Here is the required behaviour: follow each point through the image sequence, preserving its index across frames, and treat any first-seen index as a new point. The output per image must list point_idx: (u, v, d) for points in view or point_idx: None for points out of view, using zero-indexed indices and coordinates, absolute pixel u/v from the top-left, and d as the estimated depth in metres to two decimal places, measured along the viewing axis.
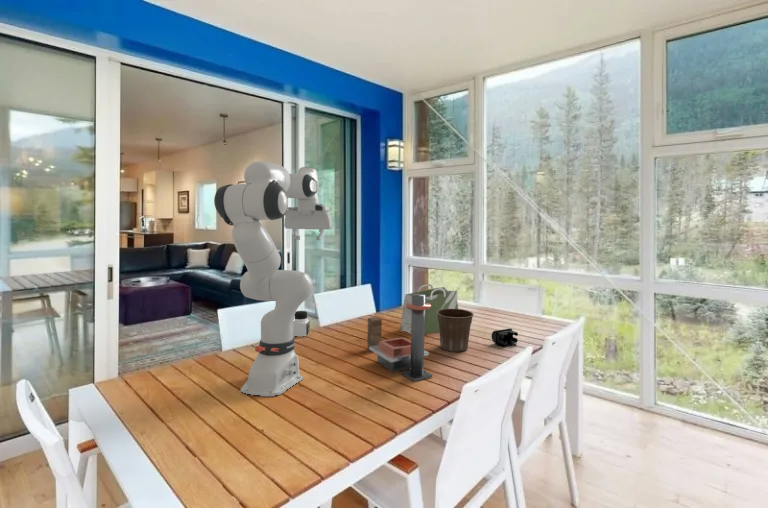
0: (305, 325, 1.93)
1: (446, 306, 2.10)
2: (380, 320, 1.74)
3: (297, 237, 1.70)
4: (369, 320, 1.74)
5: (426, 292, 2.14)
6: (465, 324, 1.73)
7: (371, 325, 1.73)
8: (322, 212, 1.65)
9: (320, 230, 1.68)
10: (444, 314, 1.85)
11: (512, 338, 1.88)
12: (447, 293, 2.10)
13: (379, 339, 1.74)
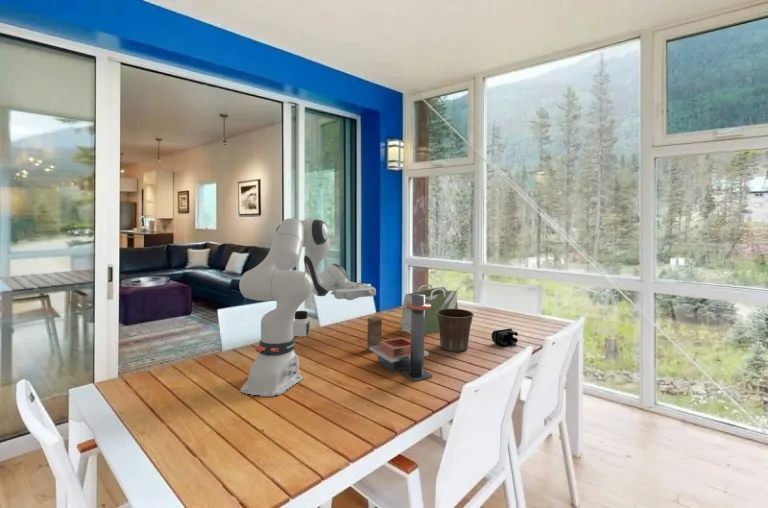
0: (305, 325, 1.93)
1: (445, 306, 2.10)
2: (380, 320, 1.74)
3: (352, 294, 1.83)
4: (369, 320, 1.74)
5: (426, 292, 2.14)
6: (465, 324, 1.73)
7: (371, 325, 1.73)
8: (364, 285, 1.98)
9: (369, 290, 1.91)
10: (444, 314, 1.85)
11: (512, 338, 1.88)
12: (447, 293, 2.10)
13: (379, 339, 1.74)
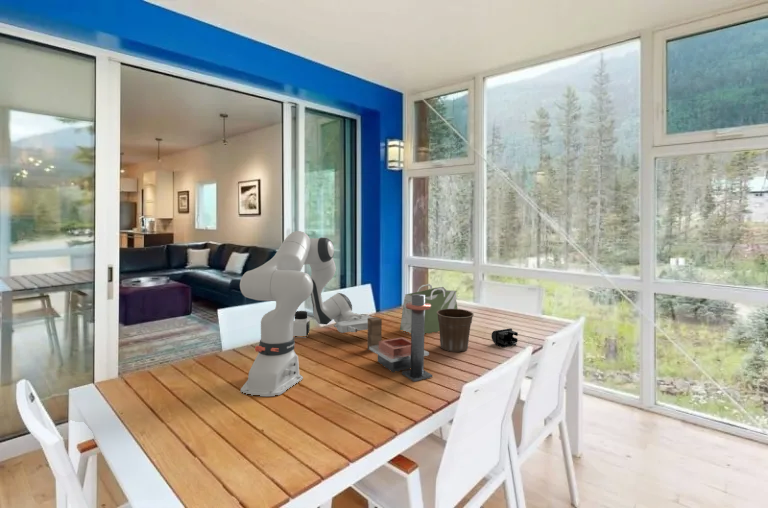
0: (305, 325, 1.93)
1: (445, 306, 2.10)
2: (380, 320, 1.74)
3: (355, 328, 1.81)
4: (369, 320, 1.74)
5: (425, 292, 2.15)
6: (465, 324, 1.73)
7: (371, 325, 1.73)
8: (367, 316, 1.96)
9: None
10: (444, 314, 1.85)
11: (512, 338, 1.88)
12: (447, 293, 2.11)
13: (379, 339, 1.74)
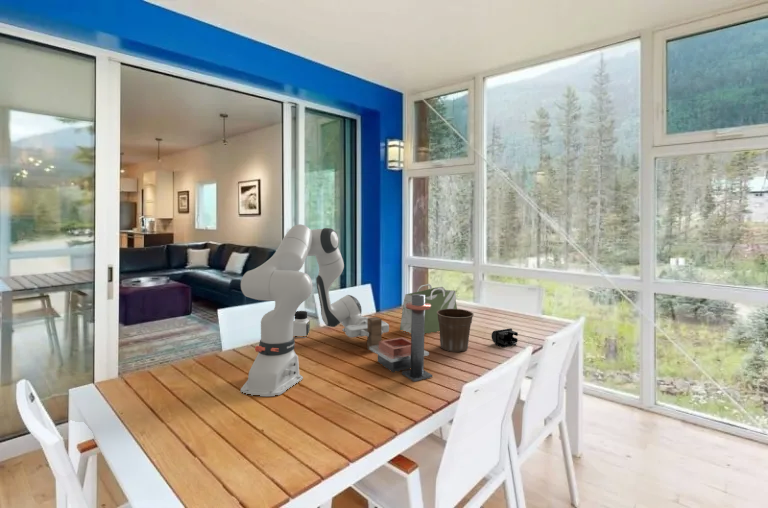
0: (305, 325, 1.93)
1: (445, 305, 2.11)
2: (380, 320, 1.74)
3: (368, 332, 1.74)
4: (369, 320, 1.74)
5: (425, 292, 2.15)
6: (465, 324, 1.73)
7: (371, 325, 1.73)
8: None
9: None
10: (444, 314, 1.85)
11: (512, 338, 1.88)
12: (446, 293, 2.11)
13: (379, 339, 1.74)
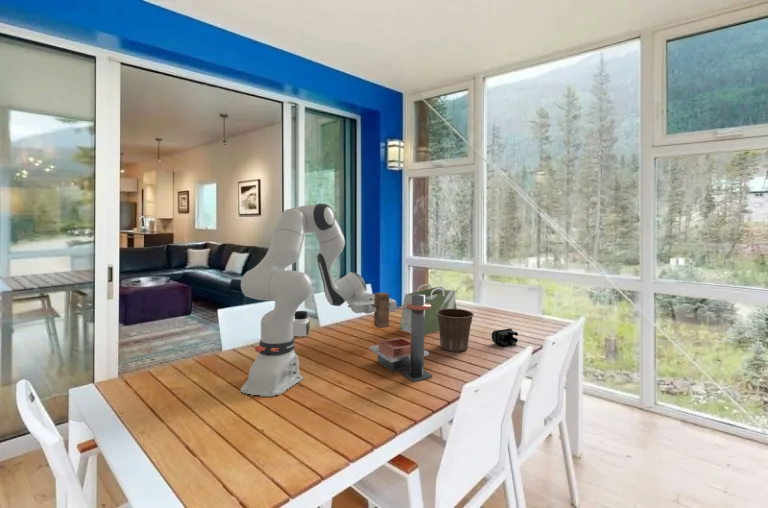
0: (305, 325, 1.93)
1: (445, 305, 2.11)
2: (388, 295, 1.67)
3: (375, 307, 1.67)
4: (376, 295, 1.67)
5: (425, 292, 2.15)
6: (465, 324, 1.73)
7: (378, 300, 1.66)
8: None
9: None
10: (444, 314, 1.85)
11: (512, 338, 1.88)
12: (446, 292, 2.12)
13: (386, 315, 1.68)
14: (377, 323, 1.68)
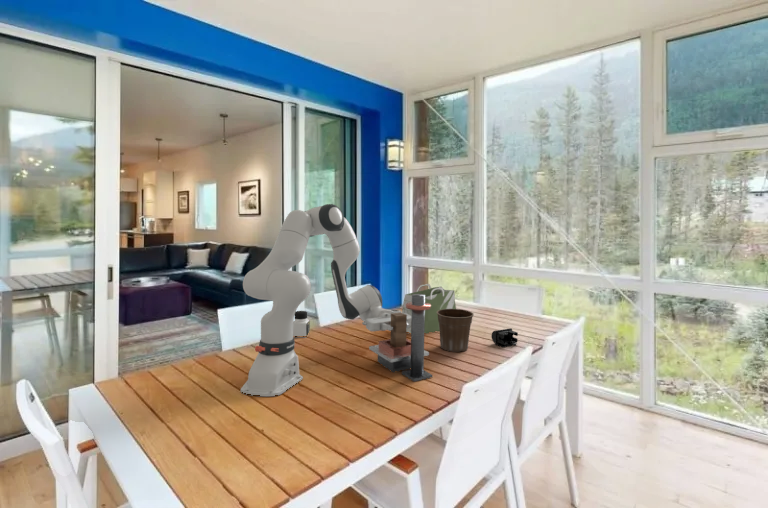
0: (305, 325, 1.93)
1: (444, 305, 2.11)
2: (405, 316, 1.56)
3: (390, 325, 1.56)
4: (393, 316, 1.56)
5: (424, 292, 2.15)
6: (465, 324, 1.73)
7: (395, 322, 1.55)
8: (399, 312, 1.70)
9: None
10: (444, 314, 1.85)
11: (512, 338, 1.88)
12: (445, 292, 2.12)
13: (404, 337, 1.56)
14: (393, 346, 1.56)
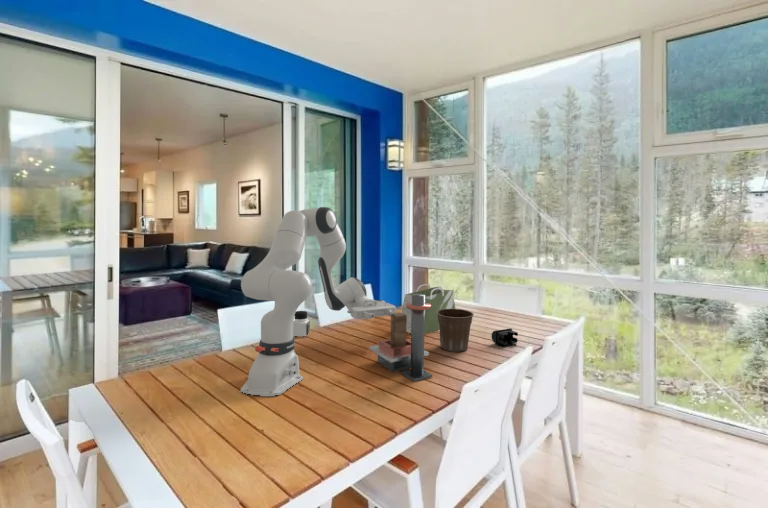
0: (305, 325, 1.93)
1: (444, 305, 2.12)
2: (405, 316, 1.56)
3: (371, 313, 1.66)
4: (393, 316, 1.56)
5: (424, 292, 2.16)
6: (465, 324, 1.73)
7: (395, 322, 1.55)
8: (383, 302, 1.81)
9: (389, 309, 1.74)
10: (444, 314, 1.85)
11: (512, 338, 1.88)
12: (445, 292, 2.12)
13: (404, 337, 1.56)
14: (393, 346, 1.56)
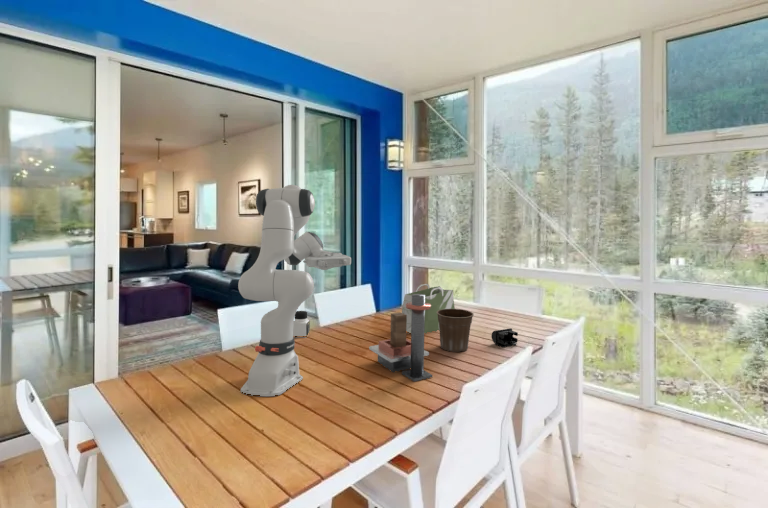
0: (305, 325, 1.93)
1: (444, 305, 2.12)
2: (405, 316, 1.56)
3: (324, 261, 1.72)
4: (393, 316, 1.56)
5: (423, 291, 2.16)
6: (465, 324, 1.73)
7: (395, 322, 1.55)
8: None
9: (343, 259, 1.80)
10: (444, 314, 1.85)
11: (512, 338, 1.88)
12: (445, 292, 2.13)
13: (404, 337, 1.56)
14: (393, 346, 1.56)
